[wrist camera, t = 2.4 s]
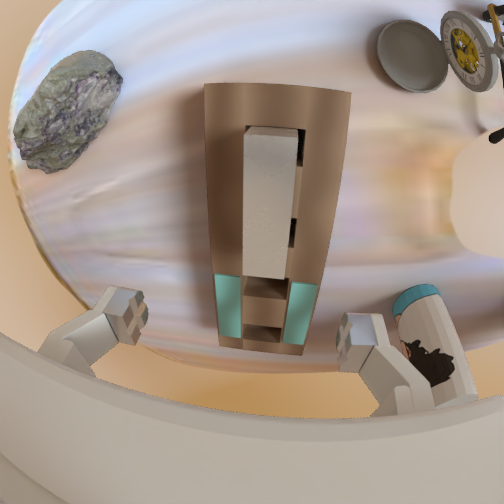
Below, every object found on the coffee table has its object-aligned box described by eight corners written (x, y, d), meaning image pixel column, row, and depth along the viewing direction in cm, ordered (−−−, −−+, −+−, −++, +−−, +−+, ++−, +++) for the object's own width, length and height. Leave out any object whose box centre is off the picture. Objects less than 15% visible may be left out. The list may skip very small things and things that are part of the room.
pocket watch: (359, 55, 17) (404, 39, 8) (408, -3, 12) (466, -34, 4) (429, 119, 18) (496, 150, 10) (473, 63, 14) (545, 72, 6)
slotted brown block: (341, 91, 19) (351, 92, 15) (302, 330, 35) (301, 356, 31) (218, 83, 20) (203, 83, 16) (226, 322, 36) (219, 347, 32)
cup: (382, 308, 31) (404, 421, 19) (424, 275, 27) (468, 388, 15) (408, 329, 32) (431, 428, 20) (447, 300, 29) (484, 400, 17)
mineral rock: (60, 170, 26) (0, 210, 18) (36, 93, 20) (-30, 116, 12) (142, 135, 23) (73, 172, 15) (116, 39, 17) (39, 37, 9)
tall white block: (296, 120, 21) (298, 137, 14) (287, 225, 26) (283, 279, 20) (260, 117, 21) (243, 134, 15) (256, 222, 27) (242, 275, 20)
